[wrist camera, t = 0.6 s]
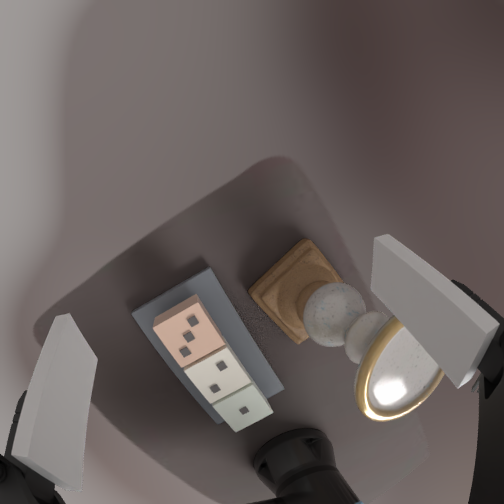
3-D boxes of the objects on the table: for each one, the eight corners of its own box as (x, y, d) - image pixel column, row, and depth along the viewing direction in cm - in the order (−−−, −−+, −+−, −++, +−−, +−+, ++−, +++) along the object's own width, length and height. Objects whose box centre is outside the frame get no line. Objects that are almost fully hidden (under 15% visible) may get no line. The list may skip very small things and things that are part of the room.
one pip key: (266, 398, 39) (273, 413, 36) (231, 417, 38) (235, 433, 35) (247, 371, 38) (253, 385, 34) (209, 391, 37) (212, 407, 34)
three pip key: (221, 332, 36) (225, 344, 33) (181, 354, 36) (181, 368, 32) (196, 293, 35) (197, 302, 31) (154, 317, 34) (152, 328, 31)
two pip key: (245, 368, 38) (251, 382, 34) (207, 389, 37) (210, 404, 33) (223, 335, 36) (227, 348, 33) (183, 357, 36) (183, 371, 32)
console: (282, 384, 43) (290, 397, 39) (216, 420, 41) (220, 435, 38) (209, 266, 38) (212, 272, 34) (132, 310, 36) (127, 320, 33)
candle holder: (304, 236, 40) (435, 265, 17) (345, 290, 43) (468, 350, 20) (245, 291, 40) (325, 387, 16) (293, 341, 42) (387, 443, 19)
